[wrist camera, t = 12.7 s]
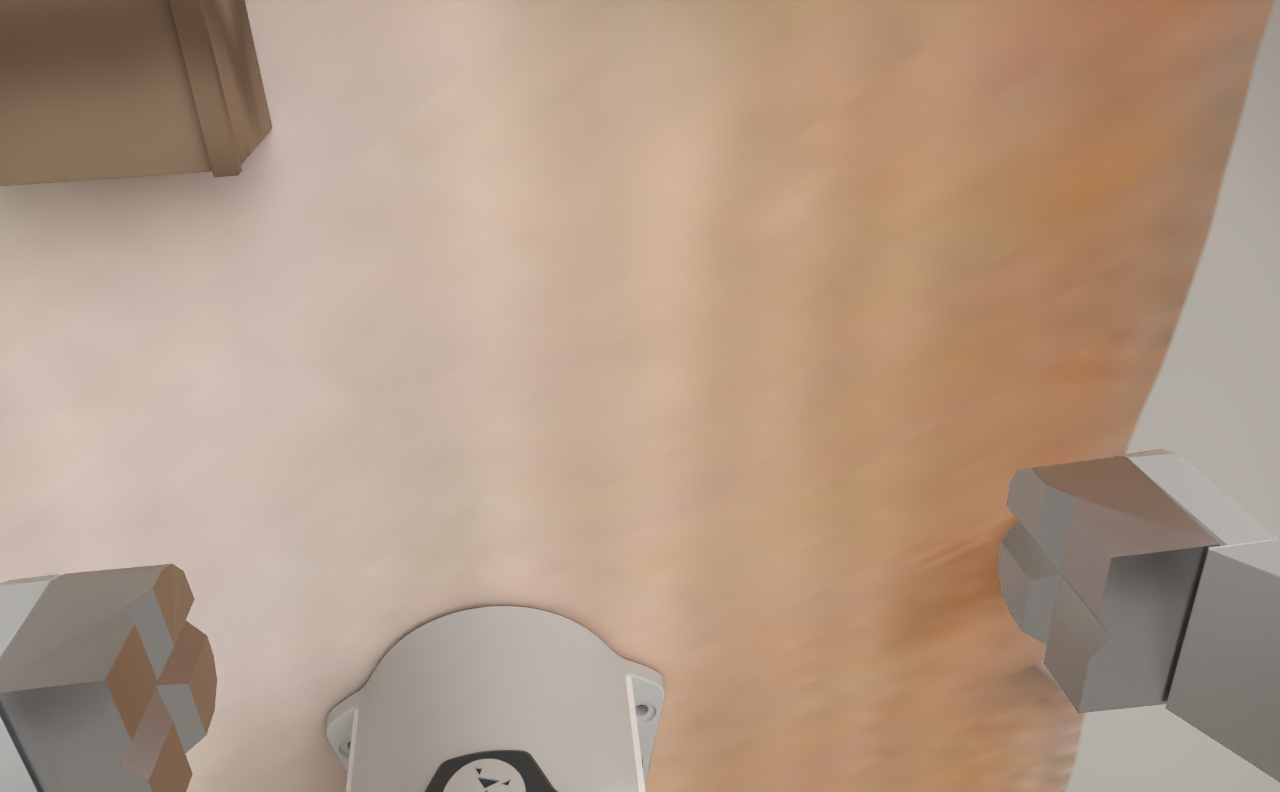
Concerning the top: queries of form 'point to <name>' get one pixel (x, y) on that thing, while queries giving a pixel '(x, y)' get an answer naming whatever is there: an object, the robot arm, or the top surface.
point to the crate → (127, 89)
